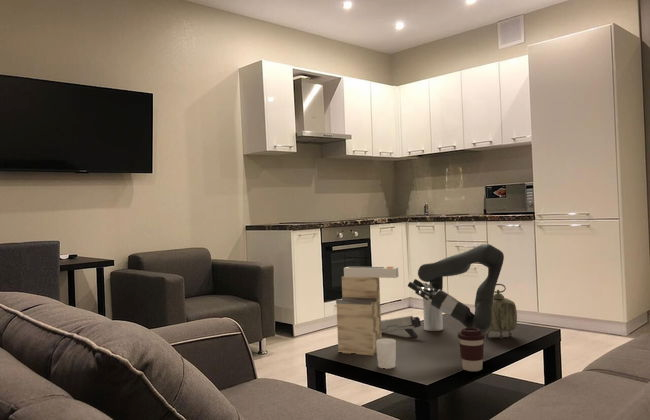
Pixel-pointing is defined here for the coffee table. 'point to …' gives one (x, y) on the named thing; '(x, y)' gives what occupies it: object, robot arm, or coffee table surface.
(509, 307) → the tabletop clock
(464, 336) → the coffee cup
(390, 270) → the power strip
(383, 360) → the white cup
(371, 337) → the step shelf
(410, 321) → the gun
